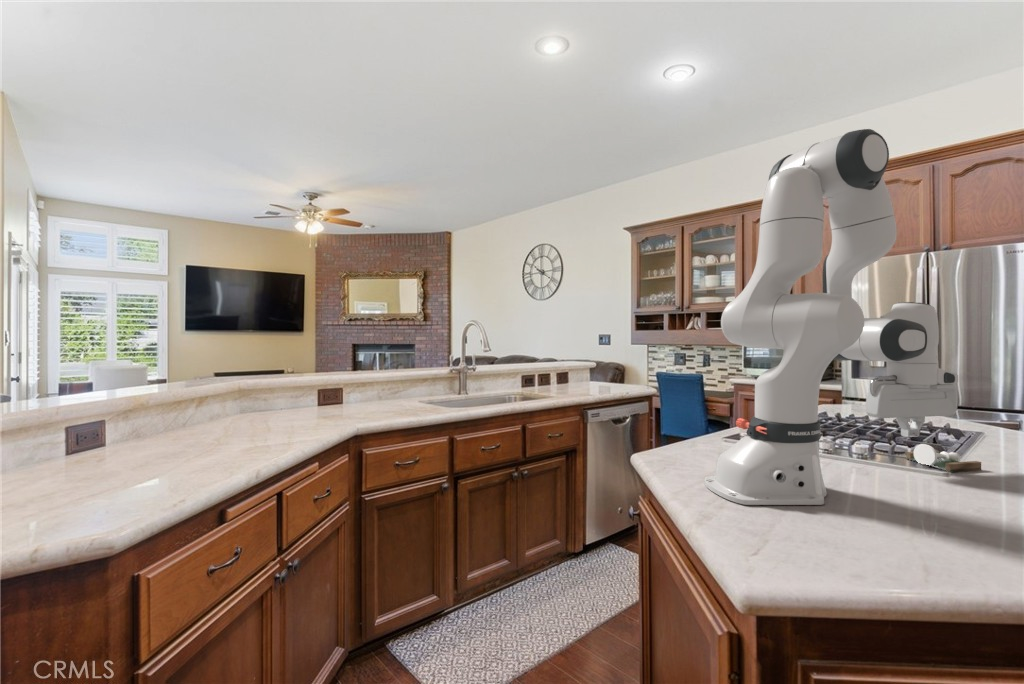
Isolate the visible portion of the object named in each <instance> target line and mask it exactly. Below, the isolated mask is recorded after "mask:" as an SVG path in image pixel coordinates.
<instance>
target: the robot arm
mask: <svg viewBox="0 0 1024 684" xmlns="http://www.w3.org/2000/svg"><path fill="white" fill-rule="evenodd" d="M889 159H890V150H889V147H888V143H887V142H886V140H885V138H884V137H883V135H882V134H880V133H879V132H877V131H875V130H873V129H870V128H864V129H857V130H852V131H849V132H846V133H844V135H840V136H839V135H838V136H836V137H831V138H830V139H826V140H824V141H821V142H819V141H818V142H815V143H813V144H810V145H808V146H806V147H804V148H802V149H800V150H799V151H796V152H794V153H792V154H788V155H786V156H785V157H783V158H781V159H780V160H778V161H777V162H776V163H775V164H774V165H773V166H772V168H771V169H770V172H769V176H768V180H767V184H766V188H765V190H764V193H763V199H762V202H761V210H760V215H759V216H760V217H759V231H758V233H759V234H758V243H757V245H758V247H757V255H756V262H755V265H754V268H753V272H752V274H751V277H750V279H749V281H748V282H747V283H746V285H745V287H744V288H743V290H742V291H741V292H740V293H739V295H737V296H736V297H735V298H734V299H733V300H731V301H730V302H729V303H728V304H727V305H726V306H725V307H724V308H723V309H724V310H723V311H722V313H721V318H720V328H721V331H722V334H723V336H724V337H725V339H726V340H727V341H728V342H730V343H731V344H734V345H737V346H742V347H745V348H749V349H750V348H751V349H764V350H765V349H766V350H767V349H768V350H769V349H770V350H783V351H782V352H783V353H782V358H781V361H780V363H779V364H778V365H777V366H774V367H771V368H768V369H767V370H765V371H763V372H762V373H761V374H759V376H758V377H757V379H756V380H755V383H754V414H753V416H752V417H751V420H750V421H749V420H748V419H745V418H741V417H739V418H737V420H736V421H735V426H736V428H739V429H742V430H746V432H745V433H746V434H745V435H744V436H743V437H742V438H741V439H739V440H738V441H736V442H735V443H734V444H733V445H731V446H730V447H729V448H728V449H726V450H725V451H723V452H722V453H720V455H719V457H718V459H717V462H716V469H715V474H714V475H708V476H705V477H704V480H703V484H704V486H705V487H706V488H707V489H708V490H710V491H711V492H712V493H714V494H716V495H718V496H720V497H721V498H724V499H726V500H729V501H730V502H733V503H737V504H740V505H745V506H762V505H763V506H769V505H770V506H772V505H773V506H783V505H784V506H785V505H787V506H792V505H793V506H796V505H797V506H799V505H800V506H801V505H802V506H803V505H805V506H811V505H812V506H814V505H815V506H819V505H820V506H821V505H824V504H825V497H826V496H827V495H828V492H827V489H826V486H825V482H824V479H823V474H822V466H821V460H820V452H819V450H820V449H819V442H820V440H821V421H820V420H819V419H818V418H819V398H820V397H819V396H820V388H821V382H822V379H823V376H824V374H825V372H826V370H827V368H828V367H829V365H830V364H831V362H832V361H833V360H836V361H841V362H842V361H843V362H844V361H845V362H846V361H864V362H886V375H884V376H883V375H877V376H875V377H874V378H873V379H872V380H871V381H870V382H869V387H868V390H867V395H866V399H865V410H864V411H865V413H866V414H867V416H868V417H872V418H875V419H895V418H896V422H897V425H898V426H899V428H900V435H901V436H902V437H905V438H912V437H919V436H920V431H921V428H922V426H924V424H925V422H926V421H925V420H926V418H927V417H928V418H929V417H946V416H948V417H951V416H954V415H955V414H956V412H957V410H958V404H959V403H958V400H959V399H958V398H959V395H958V388H957V386H956V384H958V382H959V375H958V374H956V373H954V372H951V371H948V370H946V369H943V368H940V367H939V360H938V356H937V348H938V346H939V344H940V343H939V342H940V329H939V319H938V314H937V310H936V307H935V306H932V305H931V304H928V303H925V302H914V301H912V302H911V301H905V302H904V301H903V302H902V301H901V302H897V303H894V304H893V305H892V307H891V310H890V311H889V312H887V313H885V314H884V315H881V316H880V317H873V318H870V317H868V318H867V317H865V316H864V312H863V310H862V307H861V306H860V304H859V303H858V302H857V301H856V300H855V299H854V298H853V295H852V294H853V289H852V284H853V280H854V278H855V276H856V275H857V274H858V273H859V272H860V271H862V270H863V269H864V268H866V267H868V266H870V265H872V264H874V263H876V262H878V261H880V260H881V259H882V258H883V257H884V256H886V255H887V254H888V253H889V252H890V251H891V249H892V248H893V247H894V245H895V243H896V242H897V241H896V240H897V235H898V234H897V233H898V231H897V230H898V227H897V222H896V216H895V210H894V205H893V202H892V199H891V195H890V192H889V189H888V186H887V184H886V181H885V180H884V178H883V175H884V174H885V172H886V169H887V167H888V164H889ZM824 198H825V199H826V201H827V202H828V218H829V224H830V230H831V245H830V246H831V247H830V250H829V253H828V254H827V255H826V256H825V257H824V260H823V264H822V292H811V293H791V291H792V289H793V286H794V285H795V283H797V281H798V280H799V279H800V278H802V277H803V276H805V275H807V274H809V273H811V272H812V271H814V270H815V269H816V268H817V266H818V265H819V264H820V262H821V261H822V257H823V241H824V222H825V219H824V218H825V217H824V215H825V212H824V210H825V209H824V207H825V206H824ZM910 422H911V423H910Z"/></svg>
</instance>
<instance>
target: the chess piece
mask: <svg viewBox="0 0 1024 684" xmlns="http://www.w3.org/2000/svg"><path fill="white" fill-rule="evenodd" d="M935 450H936V449H935V448H934V447H933V446H931V445H929V444H926V443H920V444H918V445H916V446H915V447H914V449H913V452H914V458H915V460H916V461H917V462H918V463H917V464H919V463H921V464H926V465H929V466H928V467H930V465H933V464H935V462H936V461H937V459H939V458H941V459H942V460H943V461H947V460H951V461H959V462H961V459H962V458H963V457H962V456H961V455H960V454H959V453H958V452H955V451H953V452H952V451H951V452H947V451H940V452H939V453H936V451H935Z"/></svg>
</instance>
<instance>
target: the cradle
mask: <svg viewBox="0 0 1024 684" xmlns="http://www.w3.org/2000/svg"><path fill="white" fill-rule="evenodd" d="M935 451H936V453H940V451H939V450H937V449H935ZM906 457H907V458H910V459H913V460H915V458H914V451H906V456H905V458H906ZM933 465H934V466H938V467H941V468H943V469H946V470H947V471H948V472H947V471H946V472H947V473H960V472H961V473H963V472H978V471H982V461H978V460H971V461H957V460H956V461H951V460H947V461H941V462H940V461H939V462H937V461H936V462H935V464H933Z"/></svg>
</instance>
